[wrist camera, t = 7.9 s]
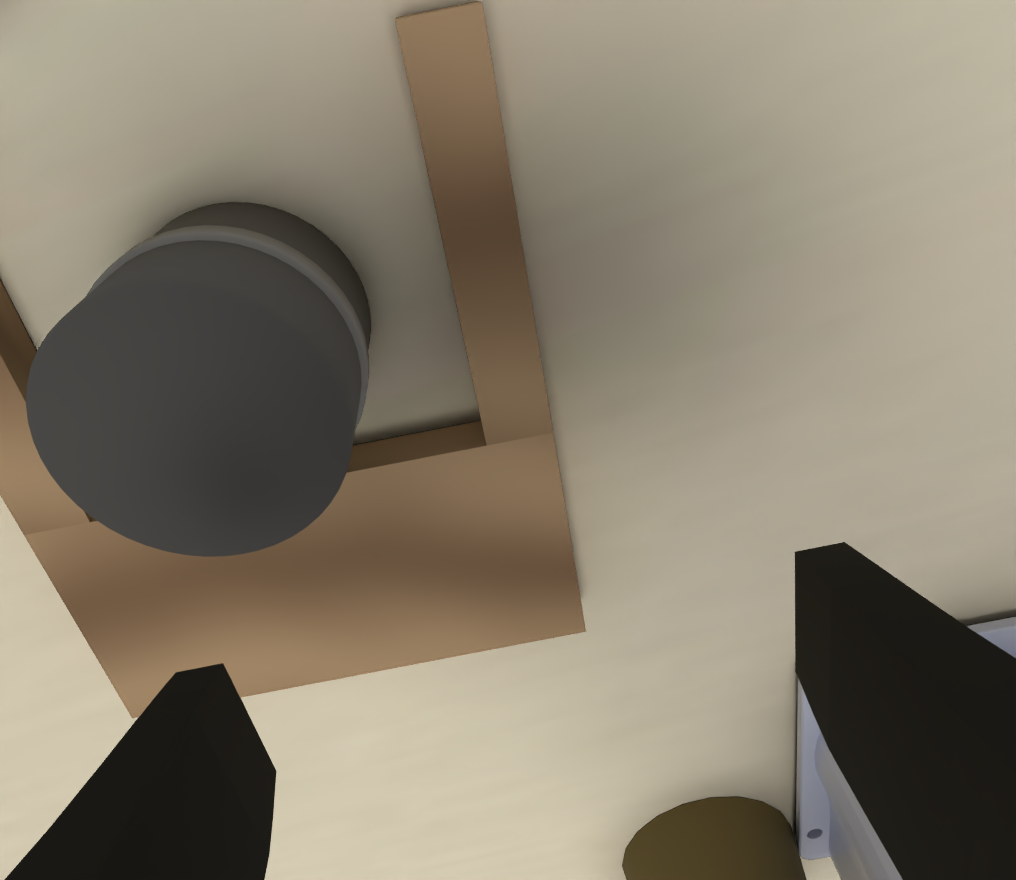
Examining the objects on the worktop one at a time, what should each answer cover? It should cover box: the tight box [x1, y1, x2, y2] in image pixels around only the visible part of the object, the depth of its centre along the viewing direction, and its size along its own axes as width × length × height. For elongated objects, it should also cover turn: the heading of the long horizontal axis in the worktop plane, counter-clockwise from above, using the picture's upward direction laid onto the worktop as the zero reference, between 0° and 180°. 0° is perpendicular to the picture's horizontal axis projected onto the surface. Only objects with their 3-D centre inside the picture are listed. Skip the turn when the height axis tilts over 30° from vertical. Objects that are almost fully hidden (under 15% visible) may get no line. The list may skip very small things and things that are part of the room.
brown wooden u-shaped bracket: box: [0, 1, 586, 718], centre depth 18 cm, size 14×12×1 cm
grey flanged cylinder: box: [26, 202, 371, 557], centre depth 15 cm, size 5×5×5 cm
